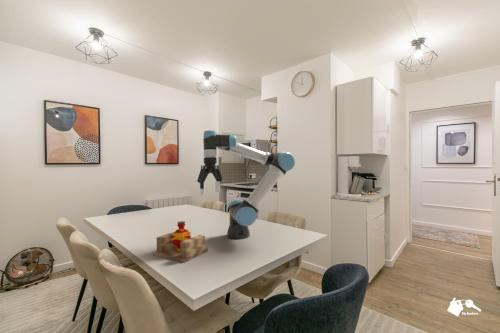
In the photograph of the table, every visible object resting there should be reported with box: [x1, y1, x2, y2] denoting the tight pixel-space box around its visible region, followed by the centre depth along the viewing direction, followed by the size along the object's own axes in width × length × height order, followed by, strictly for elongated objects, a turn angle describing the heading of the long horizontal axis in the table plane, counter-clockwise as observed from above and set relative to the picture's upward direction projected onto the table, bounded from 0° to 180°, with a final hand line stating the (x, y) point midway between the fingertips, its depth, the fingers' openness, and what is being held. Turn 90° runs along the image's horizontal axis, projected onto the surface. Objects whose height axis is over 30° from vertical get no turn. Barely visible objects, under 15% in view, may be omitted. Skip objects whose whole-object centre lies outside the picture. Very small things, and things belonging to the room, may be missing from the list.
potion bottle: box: [171, 220, 192, 251], centre depth 128 cm, size 10×10×15 cm
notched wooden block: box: [152, 231, 209, 264], centre depth 128 cm, size 18×22×9 cm
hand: (210, 193), depth 139 cm, fingers open, 13 cm apart
